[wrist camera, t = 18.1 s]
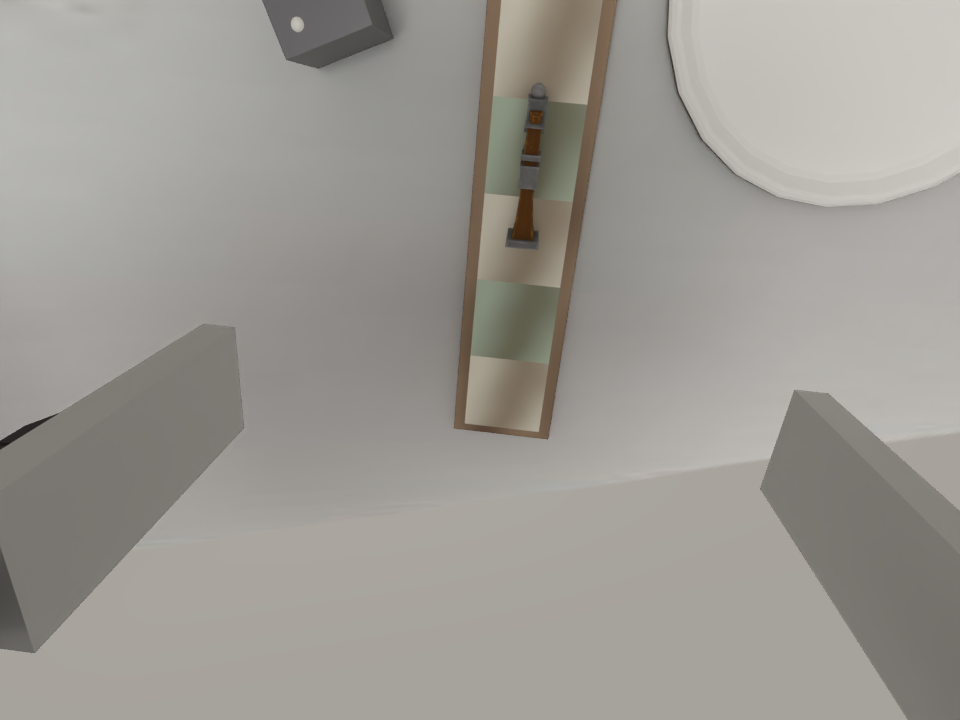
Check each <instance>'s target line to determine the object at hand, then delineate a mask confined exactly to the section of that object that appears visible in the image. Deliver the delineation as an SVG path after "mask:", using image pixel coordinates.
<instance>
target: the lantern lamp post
mask: <svg viewBox="0 0 960 720" xmlns="http://www.w3.org/2000/svg"><path fill="white" fill-rule="evenodd" d="M548 101H549V98H548V95H546V87H545V86H544V85H543V84H542V83H536V84H534V85H533V86H532V88H531V94H528V110H527V117H526V121H525V126H524V132H527V135H526V141H525V145H524V147H523V149H522V154H521V160H520V161H521V162H520V179H519V184H518V188H520V197H519V202H518V208H517V214H516V219H515V223H514V227H513V228H508V233H507V237H506V243H505V247H506V248H517V249H528V250H538V246H539V231H537V230H534V227H533V197H534V190H537V177H538V171H539V168H540V162H541V147H540V139H541V134H544V130H545V117H546V110H547V105H548Z"/></svg>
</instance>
